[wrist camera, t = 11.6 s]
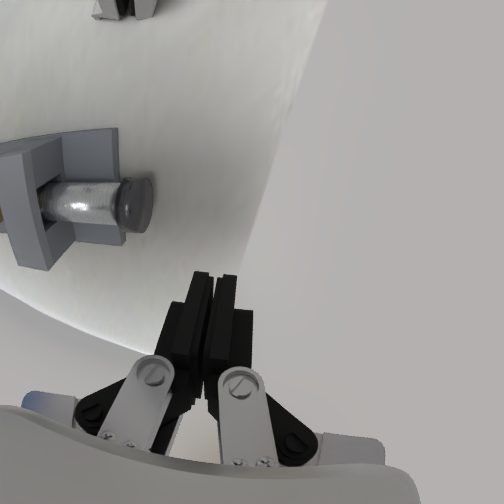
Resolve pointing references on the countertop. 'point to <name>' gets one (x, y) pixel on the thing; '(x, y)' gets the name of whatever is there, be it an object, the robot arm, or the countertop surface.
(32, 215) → the grey u-shaped stand
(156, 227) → the countertop surface
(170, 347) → the robot arm
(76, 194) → the shaft
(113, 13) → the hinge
